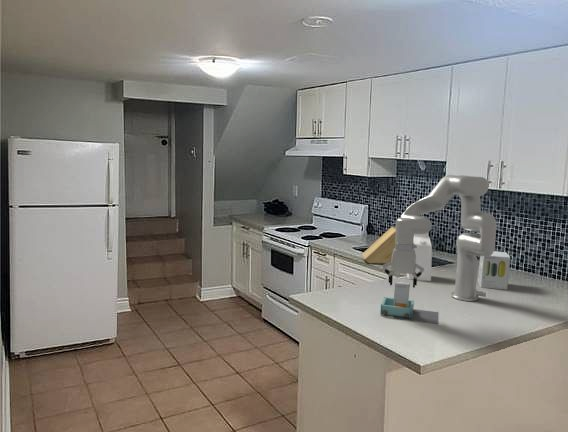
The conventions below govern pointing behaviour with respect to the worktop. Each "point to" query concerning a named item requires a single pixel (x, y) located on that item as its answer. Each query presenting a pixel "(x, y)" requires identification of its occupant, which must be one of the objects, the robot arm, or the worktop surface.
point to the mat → (420, 316)
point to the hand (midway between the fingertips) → (402, 285)
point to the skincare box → (401, 294)
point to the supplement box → (494, 270)
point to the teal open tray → (396, 308)
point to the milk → (423, 256)
